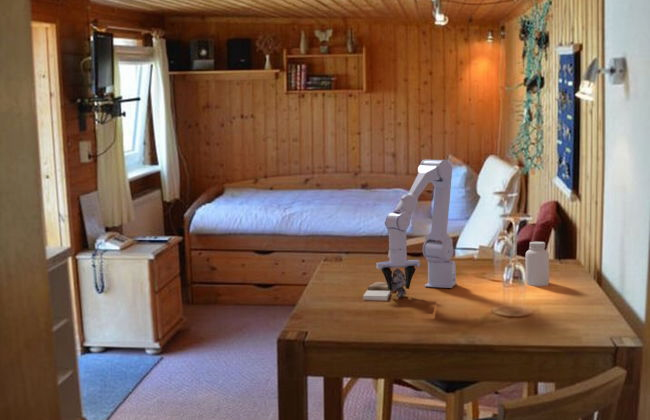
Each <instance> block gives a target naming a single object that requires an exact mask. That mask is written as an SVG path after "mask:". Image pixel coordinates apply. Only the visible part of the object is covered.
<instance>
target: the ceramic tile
mask: <svg viewBox="0 0 650 420" xmlns="http://www.w3.org/2000/svg"><path fill="white" fill-rule="evenodd" d="M390 296H391V292H390V291H370V290H368V289H367V290H366V291H365V293H364V294H363V296H362V297H363V298H362V299H363V301H385V302H387V301H388V300H389V298H390Z"/></svg>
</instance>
